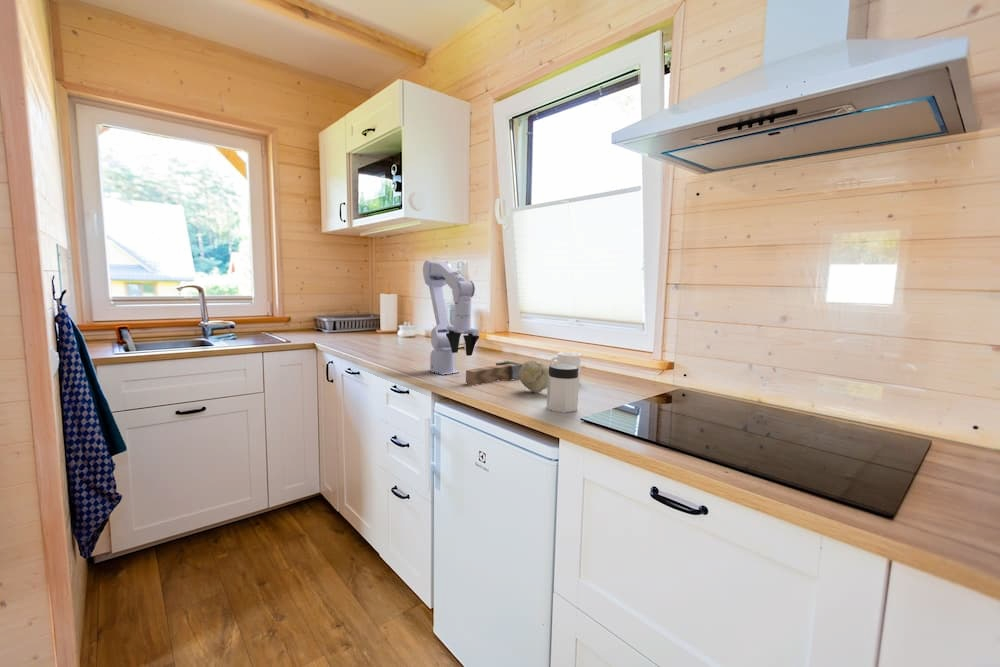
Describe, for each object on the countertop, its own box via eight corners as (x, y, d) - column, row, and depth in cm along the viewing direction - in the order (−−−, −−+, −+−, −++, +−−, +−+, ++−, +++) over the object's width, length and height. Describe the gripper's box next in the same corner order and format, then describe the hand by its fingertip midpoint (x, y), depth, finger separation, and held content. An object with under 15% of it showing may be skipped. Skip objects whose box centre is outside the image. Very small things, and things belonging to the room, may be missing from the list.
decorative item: (512, 391, 143) (513, 360, 142) (528, 386, 149) (529, 357, 148) (542, 398, 135) (543, 365, 134) (558, 393, 141) (559, 362, 140)
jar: (564, 403, 130) (565, 363, 128) (583, 410, 123) (585, 367, 122) (540, 407, 125) (541, 365, 124) (559, 414, 118) (561, 370, 117)
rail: (509, 376, 167) (510, 363, 166) (516, 378, 164) (517, 364, 164) (465, 384, 151) (466, 370, 150) (472, 386, 148) (473, 371, 148)
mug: (543, 380, 160) (544, 352, 159) (555, 377, 167) (556, 350, 166) (572, 385, 153) (573, 356, 152) (583, 382, 159) (585, 353, 158)
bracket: (494, 375, 165) (494, 362, 165) (506, 373, 170) (507, 360, 170) (513, 380, 158) (514, 366, 158) (526, 377, 163) (527, 364, 163)
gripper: (440, 314, 156) (440, 352, 157) (468, 317, 146) (467, 357, 147) (455, 313, 161) (455, 350, 162) (483, 316, 151) (482, 355, 152)
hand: (461, 354), depth 155 cm, fingers open, 7 cm apart
